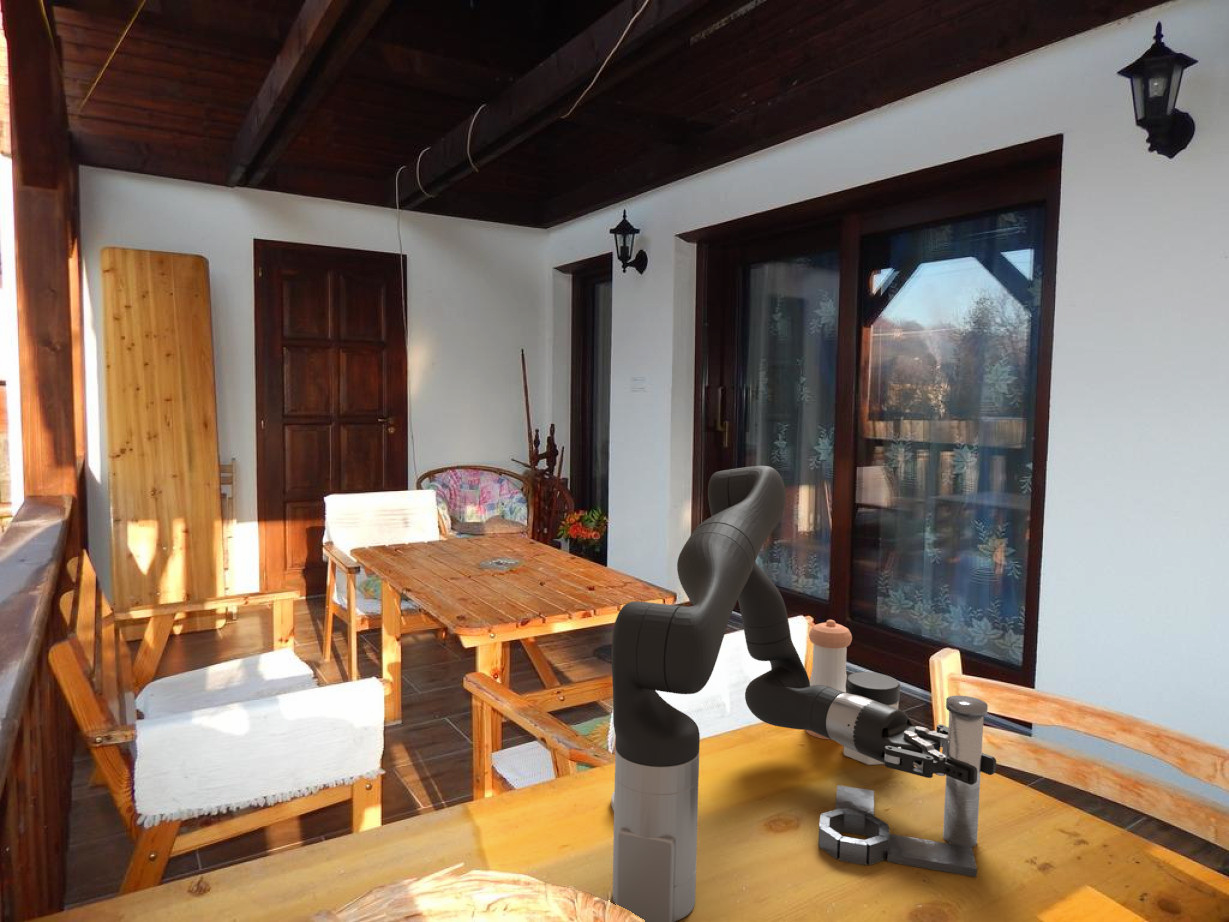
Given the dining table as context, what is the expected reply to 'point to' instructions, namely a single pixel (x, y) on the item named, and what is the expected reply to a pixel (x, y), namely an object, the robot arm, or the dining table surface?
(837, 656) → the pepper shaker
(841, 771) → the dining table surface
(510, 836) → the dining table surface
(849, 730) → the robot arm
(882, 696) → the jar
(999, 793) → the dining table surface
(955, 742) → the pin
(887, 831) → the box end wrench
